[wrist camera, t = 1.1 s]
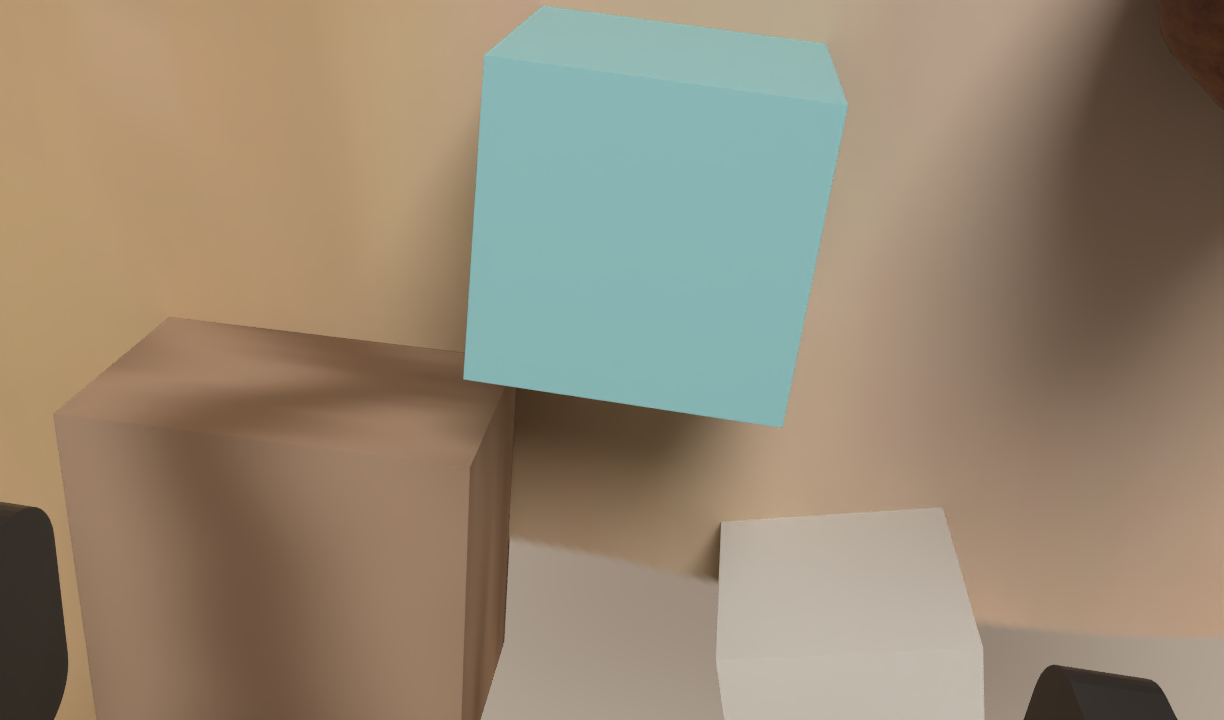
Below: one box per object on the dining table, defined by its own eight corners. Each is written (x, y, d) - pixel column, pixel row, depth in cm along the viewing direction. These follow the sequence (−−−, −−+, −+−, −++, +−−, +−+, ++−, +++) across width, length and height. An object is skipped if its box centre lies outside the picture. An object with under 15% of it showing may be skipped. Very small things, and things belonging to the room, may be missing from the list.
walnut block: (519, 355, 26) (469, 467, 21) (504, 641, 29) (458, 789, 24) (174, 313, 26) (53, 413, 22) (198, 598, 30) (99, 736, 25)
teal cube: (825, 43, 22) (847, 105, 17) (776, 305, 24) (782, 428, 19) (543, 5, 22) (484, 55, 17) (521, 268, 25) (463, 379, 20)
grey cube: (942, 505, 26) (982, 647, 21) (948, 680, 28) (986, 844, 23) (721, 520, 27) (715, 659, 22) (742, 689, 29) (741, 849, 24)
